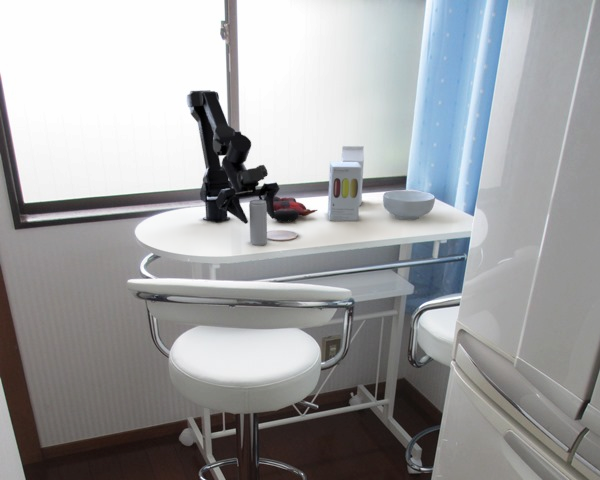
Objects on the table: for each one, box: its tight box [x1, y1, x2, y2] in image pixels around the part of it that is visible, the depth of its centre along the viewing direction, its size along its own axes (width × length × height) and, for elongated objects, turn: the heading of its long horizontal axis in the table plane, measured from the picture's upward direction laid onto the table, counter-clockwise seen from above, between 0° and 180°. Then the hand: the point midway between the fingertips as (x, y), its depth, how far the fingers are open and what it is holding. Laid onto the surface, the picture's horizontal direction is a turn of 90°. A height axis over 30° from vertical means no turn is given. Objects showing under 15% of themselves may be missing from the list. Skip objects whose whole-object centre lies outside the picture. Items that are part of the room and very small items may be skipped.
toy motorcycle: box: [258, 195, 318, 223], centre depth 227 cm, size 25×5×16 cm
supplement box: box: [327, 161, 361, 222], centre depth 219 cm, size 10×9×17 cm
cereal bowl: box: [382, 189, 436, 221], centre depth 223 cm, size 17×17×7 cm
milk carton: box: [341, 145, 365, 206], centre depth 236 cm, size 7×7×19 cm
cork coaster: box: [267, 229, 298, 242], centre depth 204 cm, size 10×10×1 cm
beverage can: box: [248, 199, 268, 247], centre depth 194 cm, size 5×5×12 cm
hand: (260, 220), depth 193 cm, fingers open, 9 cm apart
